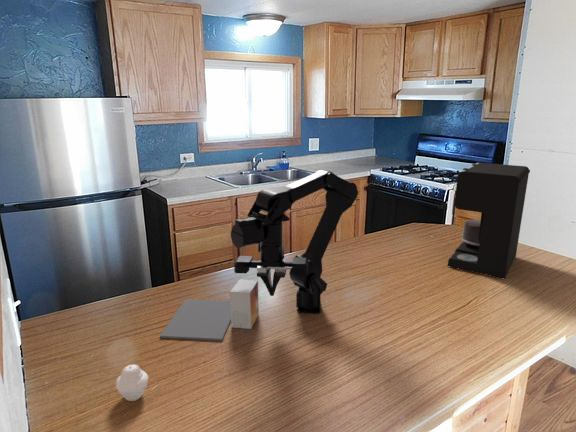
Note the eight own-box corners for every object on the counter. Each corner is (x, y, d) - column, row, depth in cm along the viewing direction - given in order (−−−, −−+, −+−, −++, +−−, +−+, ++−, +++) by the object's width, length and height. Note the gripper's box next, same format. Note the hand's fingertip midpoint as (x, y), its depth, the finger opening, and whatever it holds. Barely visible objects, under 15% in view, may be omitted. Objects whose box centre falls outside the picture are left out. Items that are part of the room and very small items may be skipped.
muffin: (110, 402, 82) (106, 371, 80) (132, 383, 88) (128, 354, 86) (136, 410, 80) (132, 379, 78) (156, 389, 86) (153, 360, 84)
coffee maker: (464, 244, 170) (475, 160, 161) (518, 254, 159) (532, 164, 150) (445, 266, 148) (455, 169, 139) (505, 279, 137) (521, 175, 128)
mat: (238, 303, 122) (238, 301, 122) (222, 340, 103) (222, 338, 103) (186, 300, 123) (185, 299, 123) (160, 337, 104) (159, 335, 104)
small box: (251, 330, 108) (250, 293, 105) (230, 327, 109) (229, 291, 106) (259, 315, 115) (258, 280, 112) (240, 313, 116) (238, 278, 114)
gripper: (309, 230, 112) (308, 283, 116) (241, 229, 113) (243, 281, 118) (307, 244, 101) (306, 302, 105) (232, 242, 103) (235, 299, 107)
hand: (272, 295), depth 109 cm, fingers closed
